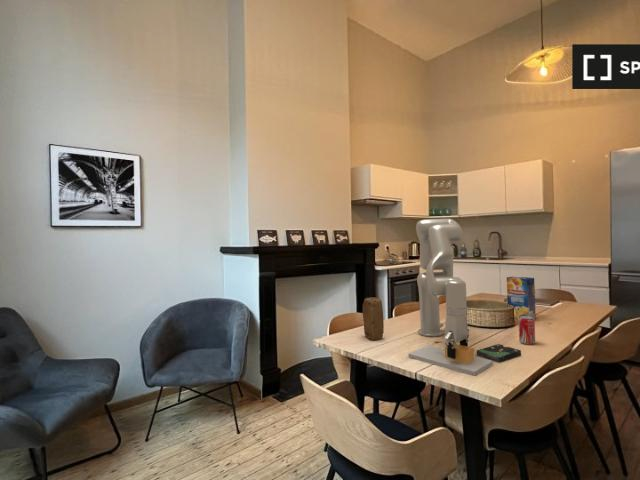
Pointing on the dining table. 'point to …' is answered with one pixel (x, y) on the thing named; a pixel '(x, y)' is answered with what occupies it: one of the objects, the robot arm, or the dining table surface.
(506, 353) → the disk drive
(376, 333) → the block
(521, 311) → the juice carton
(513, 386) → the dining table surface
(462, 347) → the block
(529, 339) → the soda can
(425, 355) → the board
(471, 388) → the dining table surface
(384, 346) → the dining table surface
